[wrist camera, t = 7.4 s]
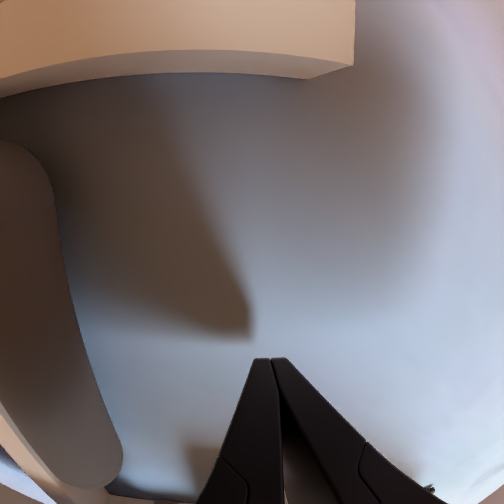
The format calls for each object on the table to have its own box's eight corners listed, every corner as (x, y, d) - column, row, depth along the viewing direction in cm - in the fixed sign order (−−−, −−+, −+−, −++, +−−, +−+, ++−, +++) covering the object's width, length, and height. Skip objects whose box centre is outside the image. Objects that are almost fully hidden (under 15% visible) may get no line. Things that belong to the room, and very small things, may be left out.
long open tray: (251, 510, 15) (256, 552, 12) (94, 498, 14) (88, 538, 11) (311, 19, 6) (371, -34, 3) (-52, 67, 5) (-128, 73, 2)
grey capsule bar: (141, 452, 11) (116, 513, 8) (77, 429, 11) (47, 482, 8) (78, 124, 6) (-38, 148, 3) (-5, 136, 6) (-98, 164, 3)
